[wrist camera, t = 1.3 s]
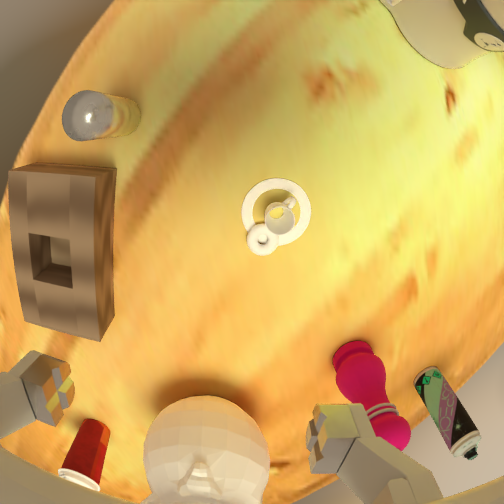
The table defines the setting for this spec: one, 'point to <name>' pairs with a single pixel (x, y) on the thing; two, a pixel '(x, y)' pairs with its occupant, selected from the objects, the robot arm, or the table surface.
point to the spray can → (448, 413)
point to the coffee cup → (87, 455)
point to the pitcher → (205, 454)
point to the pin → (99, 116)
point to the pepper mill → (370, 391)
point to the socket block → (64, 245)
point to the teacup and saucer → (274, 229)
